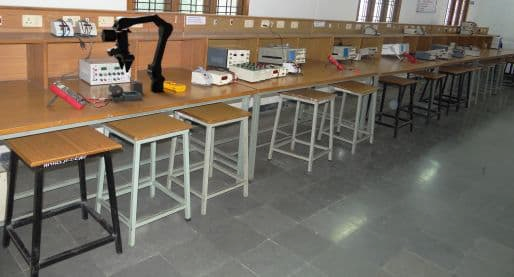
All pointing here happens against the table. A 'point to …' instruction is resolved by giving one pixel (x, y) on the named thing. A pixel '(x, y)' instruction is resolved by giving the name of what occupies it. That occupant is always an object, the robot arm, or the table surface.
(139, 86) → the pump block
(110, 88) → the motor mount
